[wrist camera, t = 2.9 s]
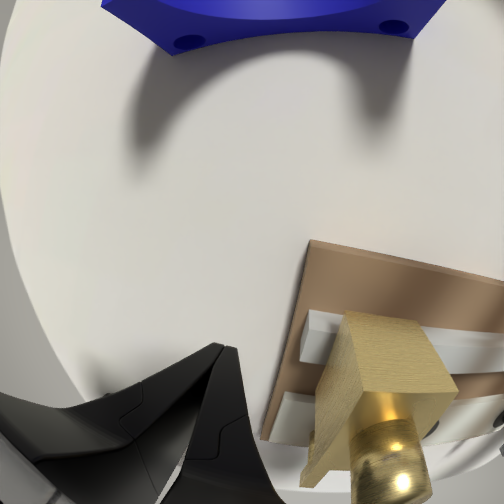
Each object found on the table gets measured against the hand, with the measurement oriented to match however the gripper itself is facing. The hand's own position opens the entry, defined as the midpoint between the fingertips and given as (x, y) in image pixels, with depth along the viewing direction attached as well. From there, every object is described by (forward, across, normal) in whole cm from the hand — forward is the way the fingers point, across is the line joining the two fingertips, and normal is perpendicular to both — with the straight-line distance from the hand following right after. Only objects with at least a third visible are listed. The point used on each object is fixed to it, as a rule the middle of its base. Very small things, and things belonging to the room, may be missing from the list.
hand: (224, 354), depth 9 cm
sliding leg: (+2, -5, +3) cm, 6 cm away
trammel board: (+4, -13, +3) cm, 14 cm away
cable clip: (+5, 0, -15) cm, 16 cm away
